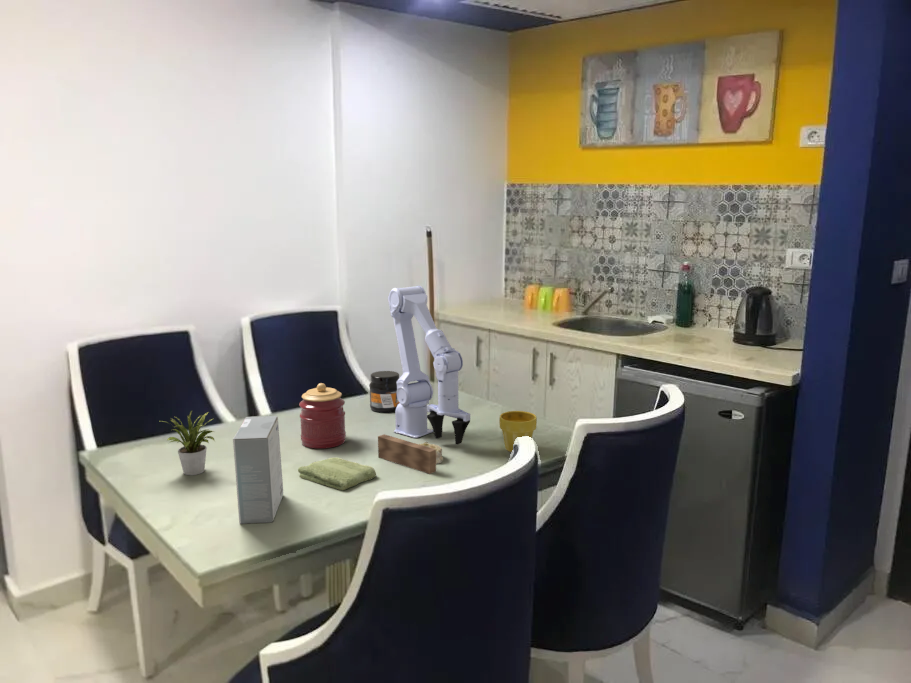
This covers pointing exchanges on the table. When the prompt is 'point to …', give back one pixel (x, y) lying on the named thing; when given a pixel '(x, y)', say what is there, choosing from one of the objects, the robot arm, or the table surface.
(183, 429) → the house plant
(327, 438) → the canister
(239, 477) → the hard drive box
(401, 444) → the walnut board
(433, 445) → the cake
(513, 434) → the plant pot
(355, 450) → the table surface
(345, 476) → the washcloth
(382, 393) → the supplement container
